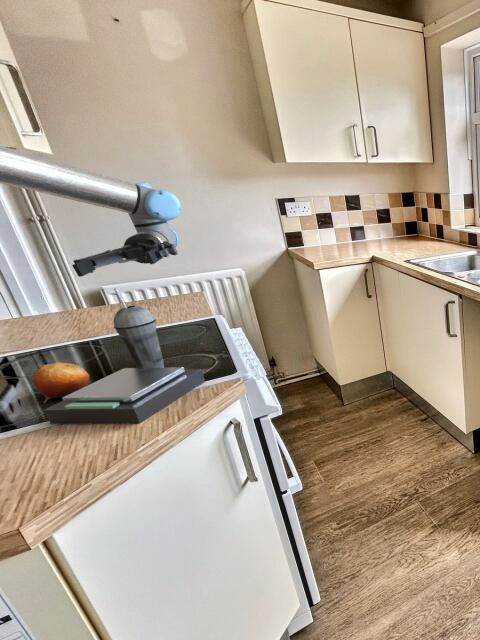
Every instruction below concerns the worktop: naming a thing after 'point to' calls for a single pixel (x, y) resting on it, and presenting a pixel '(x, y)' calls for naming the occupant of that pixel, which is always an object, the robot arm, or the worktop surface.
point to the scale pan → (124, 385)
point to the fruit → (60, 379)
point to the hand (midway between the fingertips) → (114, 264)
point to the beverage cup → (139, 335)
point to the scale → (125, 404)
